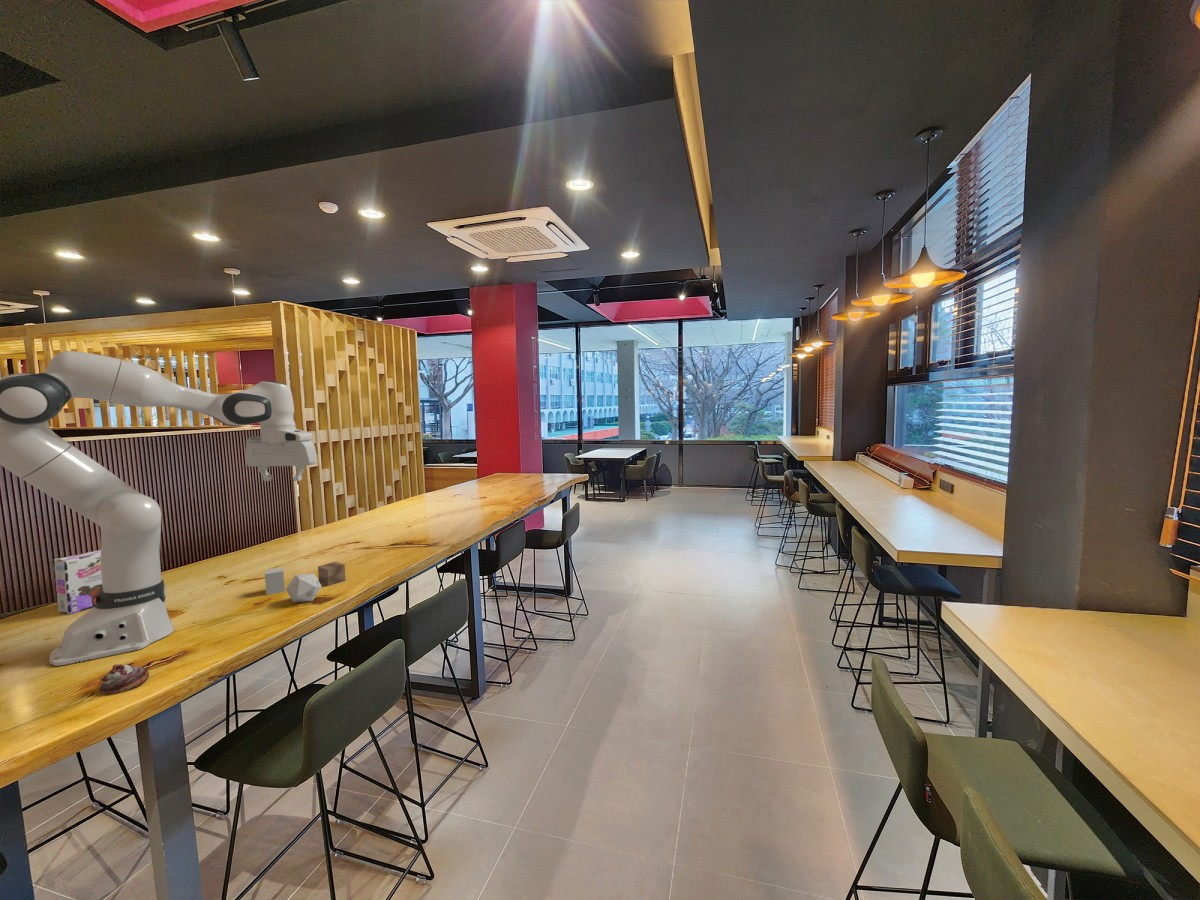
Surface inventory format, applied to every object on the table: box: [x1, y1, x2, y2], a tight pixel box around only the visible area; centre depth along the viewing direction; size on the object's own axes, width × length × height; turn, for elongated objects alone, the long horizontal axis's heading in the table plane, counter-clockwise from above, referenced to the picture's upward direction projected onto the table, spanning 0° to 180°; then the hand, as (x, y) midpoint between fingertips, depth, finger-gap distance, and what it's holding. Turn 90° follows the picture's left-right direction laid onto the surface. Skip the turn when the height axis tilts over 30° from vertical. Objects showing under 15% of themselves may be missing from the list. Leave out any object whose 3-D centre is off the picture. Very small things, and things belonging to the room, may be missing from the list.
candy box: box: [53, 549, 103, 615], centre depth 148 cm, size 14×6×16 cm, turn 161°
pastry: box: [99, 663, 150, 696], centre depth 104 cm, size 8×8×5 cm
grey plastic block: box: [264, 566, 286, 596], centre depth 159 cm, size 5×5×7 cm
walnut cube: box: [317, 561, 347, 587], centre depth 167 cm, size 6×6×6 cm
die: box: [285, 572, 322, 604], centre depth 151 cm, size 8×9×10 cm
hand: (282, 480), depth 146 cm, fingers open, 8 cm apart
